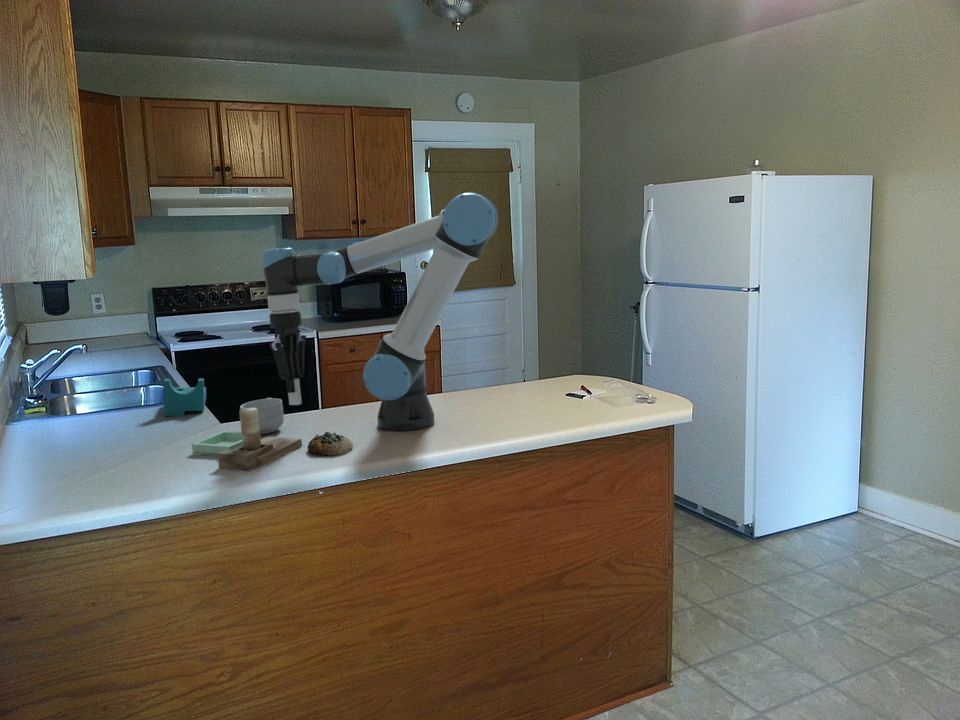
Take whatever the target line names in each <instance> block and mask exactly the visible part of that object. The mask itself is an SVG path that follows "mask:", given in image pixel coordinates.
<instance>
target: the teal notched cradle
mask: <svg viewBox="0 0 960 720" xmlns="http://www.w3.org/2000/svg"><path fill="white" fill-rule="evenodd" d="M206 400H207V387H206V386H205V379H204V378H198V380H197V384H196V385H195V387H194V386H193V387H192V386H191V387H190V386H189V387H187V386H186V387H179V386H178V387H175V386H173V384H172V381H171V378H165V379H164V381H163V404H164V405H163V406H164V407H163V408H164V409H163V410H164V412H163V413H164V415H163V416H164V417H182V416H185V414H186V412H196V411H197V412H201V411H204V410H205V407H206Z"/></svg>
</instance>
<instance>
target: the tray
mask: <svg viewBox="0 0 960 720" xmlns="http://www.w3.org/2000/svg"><path fill="white" fill-rule="evenodd" d="M261 439H262V438H261V437H260V440H261ZM240 446H243V440H242V431H230V430H222V431H221V432H217V433H215V434H213V435H210V436H208V437H206V438H203V439H201V440H199V441H195V442H193V443H191V451H192V455H198V454H200V455H201V456H202V455H203V456H211V455H213V456H215V457H218V454H217V453H219V452H222V451H224V450H234V449H236V448H238V447H240ZM200 455H199V456H200ZM213 456H212V457H213Z"/></svg>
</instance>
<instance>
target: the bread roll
mask: <svg viewBox="0 0 960 720" xmlns="http://www.w3.org/2000/svg"><path fill="white" fill-rule="evenodd" d="M353 445H354V443H353V441H351V439H350V438H348V437H347V436H344V435H342V434H341V435H340V434H337V432H332V433H331V432H329V431H325V433H323V434H322V435H319V434H316V435H315V436H314V437H313V438H311V440H310V441H309V442H308V444H307V451H308V454H309V455H313V456H316V457H317V456H318V457H319V456H320V457H323V456H324V457H325V456H326V455H328V456H331V457H332V456H337V455H338V456H339V455H345V454H347V453H349V452H350V451H351V450H352V448H353Z"/></svg>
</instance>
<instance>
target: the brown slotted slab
mask: <svg viewBox="0 0 960 720" xmlns="http://www.w3.org/2000/svg"><path fill="white" fill-rule="evenodd" d="M302 440H303V439H302V438H297V437H293V438H292V437H281V436H280V437H279V436H265V437H263V438H261V448H260V449H258V450H256V451H253V452H256V463H257V466H259V467H264V466H267V464H270V463H272V462H273V461H276V460H277V459H280V458H281V457H283V456H285V455H287V454H289V453H291V452H293V451H295V450H297V449H299V448H301V447H303V442H302ZM300 446H301V447H300ZM298 447H299V448H298ZM296 448H297V449H296ZM294 449H295V450H294ZM234 450H239V451H247V450H244V449H243V446H240V447H238V448H236V449H234ZM292 450H293V451H292ZM290 451H291V452H290ZM288 452H289V453H288ZM286 453H287V454H286ZM284 454H285V455H284Z"/></svg>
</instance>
